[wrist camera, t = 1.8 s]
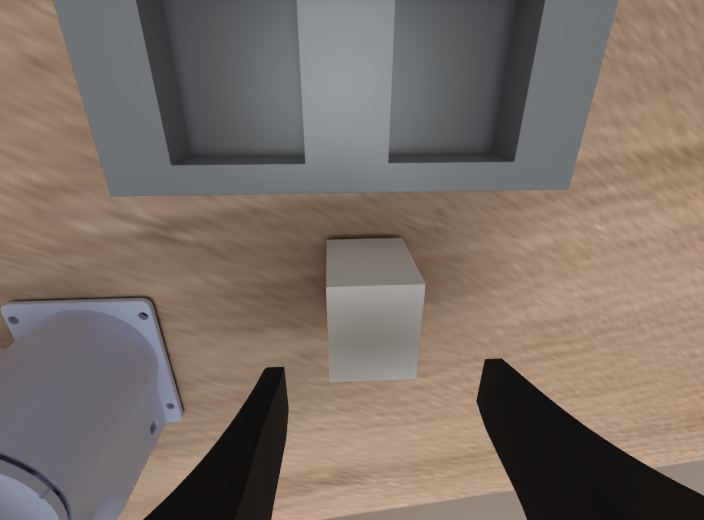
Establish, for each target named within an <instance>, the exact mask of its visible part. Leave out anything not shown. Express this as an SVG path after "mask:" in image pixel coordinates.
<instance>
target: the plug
mask: <svg viewBox="0 0 704 520" xmlns="http://www.w3.org/2000/svg"><path fill="white" fill-rule="evenodd" d="M425 286H426V284H425V282H424V280H423V278H422V276H421V274H420V272H419V270H418V268H417V266H416V264H415V262H414V260H413V258H412V256H411V254H410V252H409V250H408V248H407V246H406V244H405V242H404V240H403V238H380V239H334V240H327V254H326V301H327V329H328V357H329V383H332V382H355V381H379V380H402V379H416V375H417V365H418V356H419V346H420V336H421V326H422V316H423V306H424V296H425Z"/></svg>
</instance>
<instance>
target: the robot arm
mask: <svg viewBox="0 0 704 520" xmlns="http://www.w3.org/2000/svg"><path fill="white" fill-rule="evenodd" d="M0 310H1V314H2V316H3V318H4V320H5V322H6V324H7V326H8V328H9V330H10V332H11V334H12V336H13V338H14V340H15V341H14V342H13V343H12V344H11V345H9V346H8V347H7V348H6V349H4V350H3V351H2V352H1V353H0V520H116V519H117V518H118V517H119V515H120V514H121V512H122V510H123V509H124V507H125V505H126V503H127V501H128V499H129V497H130V495H131V493H132V491H133V489H134V487H135V485H136V483H137V481H138V479H139V477H140V475H141V472H142V470H143V468H144V466H145V464H146V462H147V460H148V458H149V456H150V454H151V452H152V450H153V448H154V446H155V444H156V442H157V440H158V438H159V436H160V434H161V432H162V430H163V428H164V426H165V424H166V422H178V421H180V420H181V418H182V416H183V410H182V407H181V403H180V399H179V396H178V392H177V389H176V385H175V382H174V378H173V375H172V371H171V367H170V364H169V360H168V357H167V353H166V350H165V346H164V343H163V339H162V335H161V332H160V328H159V325H158V321H157V318H156V314H155V311H154V307H153V304H152V302H151V301H150V300H148V299H146V298H119V299H85V300H52V301H18V302H8V303H6V304H5V305H3V306H2V307H1V309H0ZM142 312H144V313H146V314H147V315H148V316H145V315H143V314H142ZM15 317H16V318H17V319H16V318H15ZM170 403H172V404H170ZM477 404H478V407H479V410H480V413H481V417H482V419H483V422H484V425H485V428H486V430H487V433H488V435H489V437H490V439H491V441H492V443H493V445H494V447H495V450H496V452H497V454H498V456H499V458H500V460H501V462H502V464H503V466H504V468H505V470H506V473H507V475H508V477H509V479H510V481H511V483H512V485H513V487H514V489H515V491H516V493H517V495H518V498H519V500H520V503H521V505H522V507H523V510H524V512H525V515H526V518H527V520H704V496H703V495H701V494H699V493H697V492H696V491H694V490H692V489H689V488H688V487H686V486H684V485H681V484H680V483H678V482H676V481H674V480H672V479H671V478H669V477H667V476H665V475H663V474H661V473H659V472H658V471H656V470H654V469H652V468H651V467H649V466H647V465H646V464H644V463H642V462H640V461H639V460H637V459H635V458H634V457H632V456H630V455H629V454H627V453H625V452H624V451H622V450H621V449H619V448H617V447H616V446H614V445H613V444H611V443H610V442H608V441H607V440H605V439H604V438H602V437H601V436H599V435H598V434H596V433H595V432H593V431H592V430H590V429H589V428H588V427H586V426H585V425H583V424H582V423H581V422H579V421H578V420H577V419H575V418H574V417H573V416H571V415H570V414H569V413H567V412H566V411H565V410H563V409H562V408H561V407H559V406H558V405H557V404H556V403H554V402H553V401H552V400H551V399H549V398H548V397H547V396H546V395H544V394H543V393H542V392H541V391H540V390H538V389H537V388H536V387H535V386H534V385H532V384H531V383H530V382H529V381H528V380H527V379H525V378H524V377H523V376H522V375H521V374H520V373H518V372H517V371H516V370H515V369H514V368H512V367H511V366H510V365H509V364H508V363H507V362H505V361H504V360H503V359H485V362H484V367H483V371H482V376H481V381H480V386H479V391H478V396H477ZM288 411H289V408H288V399H287V389H286V380H285V370H284V367H267V368H266V369H265V370H264V371H263V373H262V375H261V376H260V378H259V380H258V382H257V384H256V385H255V387H254V389H253V390H252V392H251V394H250V395H249V397H248V399H247V400H246V402H245V403H244V405H243V406H242V408H241V409H240V411H239V412H238V414H237V415H236V417H235V418H234V419H233V421H232V422H231V424H230V425H229V426H228V428H227V429H226V430H225V432H224V433H223V434H222V436H221V437H220V438H219V440H218V441H217V442H216V444H215V445H214V446H213V447H212V449H211V450H210V451H209V452H208V453H207V455H206V456H205V457H204V458H203V459H202V460H201V462H200V463H199V464H198V465H197V466H196V467H195V468H194V470H193V471H192V472H191V473H190V474H189V475H188V476H187V477H186V478H185V479H184V480H183V481H182V482H181V484H180V485H179V486H178V487H177V488H176V489H175V490H174V491H173V492H172V493H171V494H170V495H169V496H168V497H167V498H166V499H165V500H164V501H163V502H162V503H160V504H159V505H158V506H157V507H156V508H155V509H154V510H153V511H152V512H151V513H150V514H149V515H148V516H147V517H146V518H144V519H143V520H271V517H272V511H273V505H274V500H275V494H276V489H277V484H278V479H279V474H280V469H281V463H282V458H283V453H284V447H285V442H286V435H287V423H288Z"/></svg>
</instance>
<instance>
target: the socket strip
mask: <svg viewBox="0 0 704 520" xmlns="http://www.w3.org/2000/svg"><path fill="white" fill-rule="evenodd" d="M53 2H54V6H55V9H56V12H57V16H58V19H59V23H60V26H61V29H62V33H63V36H64V40H65V43H66V46H67V50H68V53H69V56H70V60H71V63H72V67H73V70H74V73H75V77H76V80H77V84H78V87H79V90H80V94H81V97H82V100H83V104H84V107H85V111H86V114H87V117H88V121H89V124H90V128H91V131H92V134H93V138H94V141H95V144H96V148H97V151H98V155H99V158H100V161H101V165H102V168H103V172H104V175H105V178H106V182H107V185H108V188H109V192H110V195H111V196H166V195H233V194H299V193H366V192H432V191H499V190H565V189H568V188H569V185H570V181H571V177H572V173H573V169H574V166H575V162H576V158H577V154H578V150H579V147H580V143H581V139H582V135H583V131H584V128H585V124H586V120H587V116H588V112H589V109H590V105H591V101H592V97H593V93H594V90H595V86H596V82H597V78H598V74H599V71H600V67H601V63H602V59H603V55H604V52H605V48H606V44H607V40H608V36H609V33H610V29H611V25H612V21H613V17H614V14H615V10H616V6H617V2H618V0H53Z"/></svg>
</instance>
